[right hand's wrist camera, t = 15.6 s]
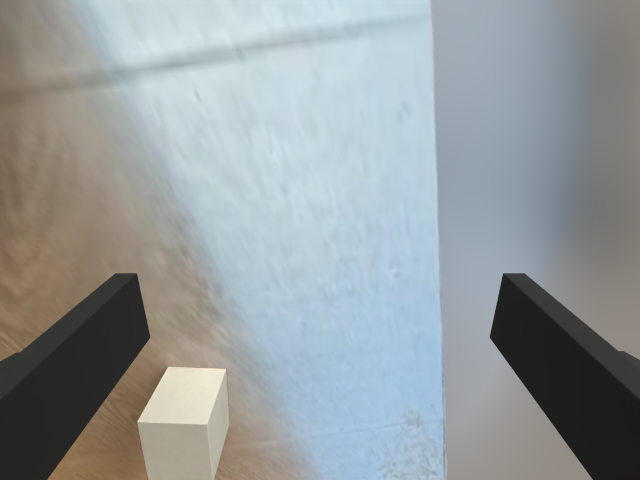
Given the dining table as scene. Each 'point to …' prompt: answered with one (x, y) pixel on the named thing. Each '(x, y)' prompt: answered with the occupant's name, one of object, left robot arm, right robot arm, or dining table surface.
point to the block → (185, 424)
